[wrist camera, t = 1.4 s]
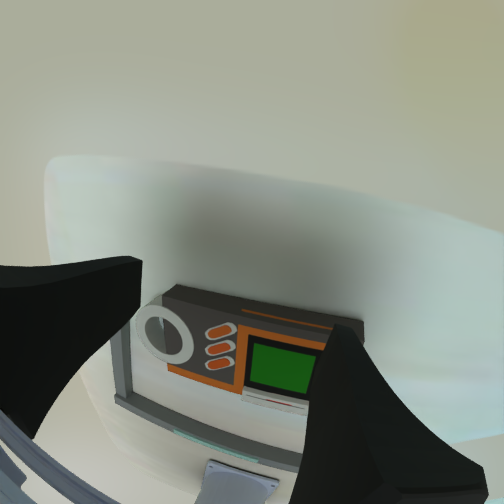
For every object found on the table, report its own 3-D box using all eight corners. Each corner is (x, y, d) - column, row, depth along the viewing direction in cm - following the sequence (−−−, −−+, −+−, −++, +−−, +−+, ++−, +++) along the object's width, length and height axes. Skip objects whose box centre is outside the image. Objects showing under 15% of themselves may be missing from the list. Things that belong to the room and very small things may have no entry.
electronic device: (128, 288, 18) (371, 346, 14) (153, 273, 21) (368, 319, 17) (139, 366, 20) (339, 424, 16) (159, 347, 23) (342, 395, 19)
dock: (326, 465, 22) (324, 480, 20) (123, 393, 25) (114, 404, 24) (378, 399, 18) (380, 416, 17) (117, 311, 22) (104, 322, 20)
